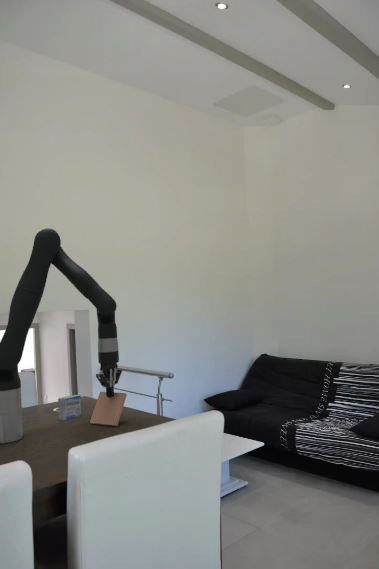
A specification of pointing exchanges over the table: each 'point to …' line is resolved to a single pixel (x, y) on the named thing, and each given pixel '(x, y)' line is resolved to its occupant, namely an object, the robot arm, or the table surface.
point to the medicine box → (69, 407)
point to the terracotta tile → (108, 409)
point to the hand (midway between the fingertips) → (110, 396)
